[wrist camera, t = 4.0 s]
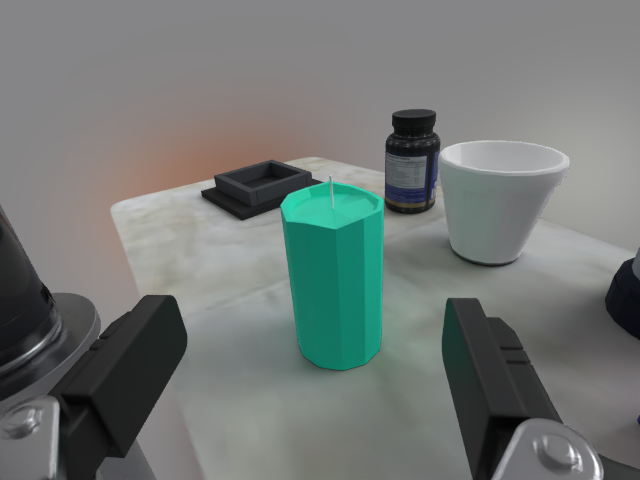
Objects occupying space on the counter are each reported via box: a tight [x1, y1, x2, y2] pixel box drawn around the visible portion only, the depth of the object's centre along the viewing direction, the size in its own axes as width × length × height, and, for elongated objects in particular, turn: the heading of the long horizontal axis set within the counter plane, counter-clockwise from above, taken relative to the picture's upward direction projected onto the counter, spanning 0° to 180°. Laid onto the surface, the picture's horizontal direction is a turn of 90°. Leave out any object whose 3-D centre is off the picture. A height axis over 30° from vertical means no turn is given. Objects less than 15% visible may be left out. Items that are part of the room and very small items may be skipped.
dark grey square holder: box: [201, 160, 324, 220], centre depth 52 cm, size 14×12×3 cm
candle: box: [280, 175, 384, 370], centre depth 23 cm, size 6×6×12 cm
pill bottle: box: [385, 109, 440, 213], centre depth 43 cm, size 6×6×11 cm
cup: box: [438, 140, 570, 265], centre depth 33 cm, size 10×10×9 cm
